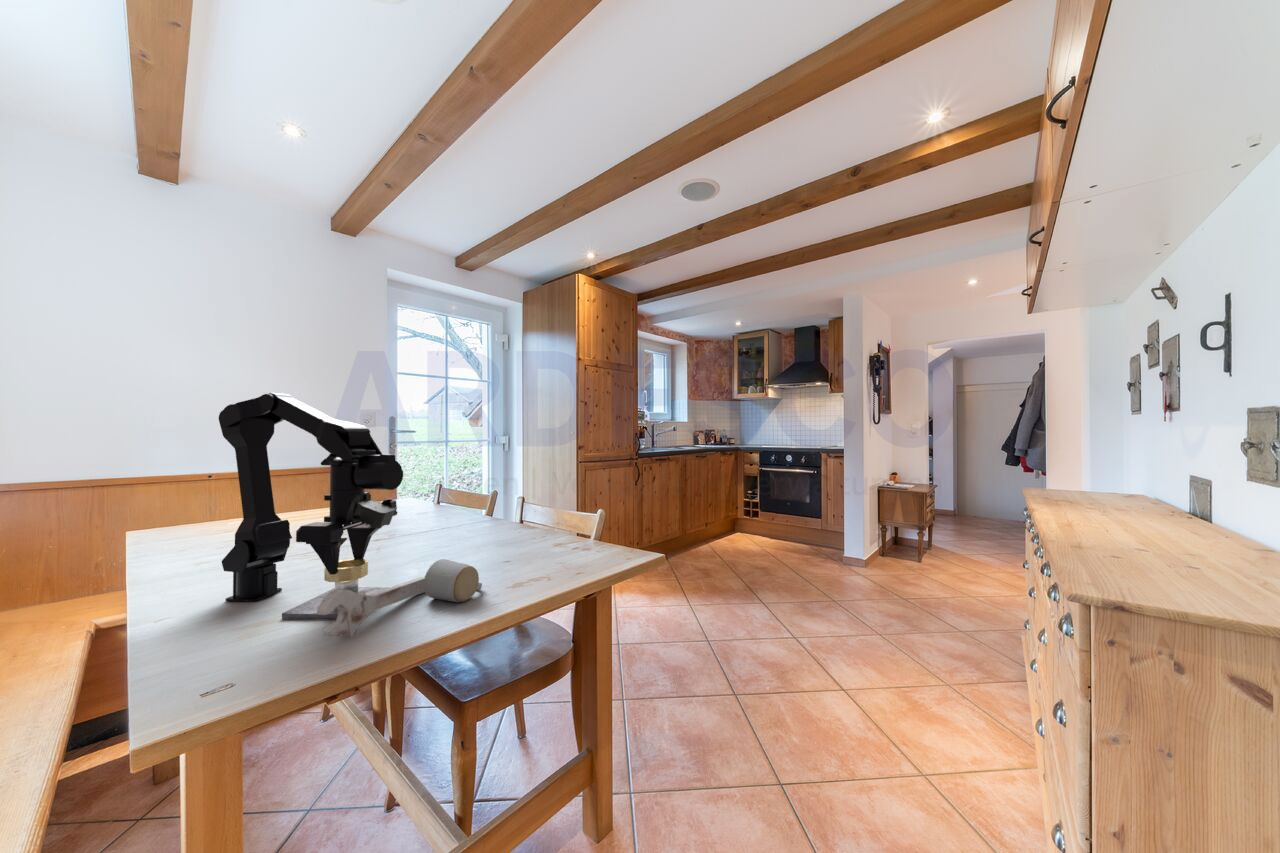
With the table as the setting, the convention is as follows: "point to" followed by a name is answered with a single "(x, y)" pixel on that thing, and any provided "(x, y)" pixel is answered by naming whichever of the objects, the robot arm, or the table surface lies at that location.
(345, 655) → the table surface
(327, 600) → the wrench
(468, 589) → the ceramic mug
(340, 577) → the ring
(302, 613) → the piston stand
